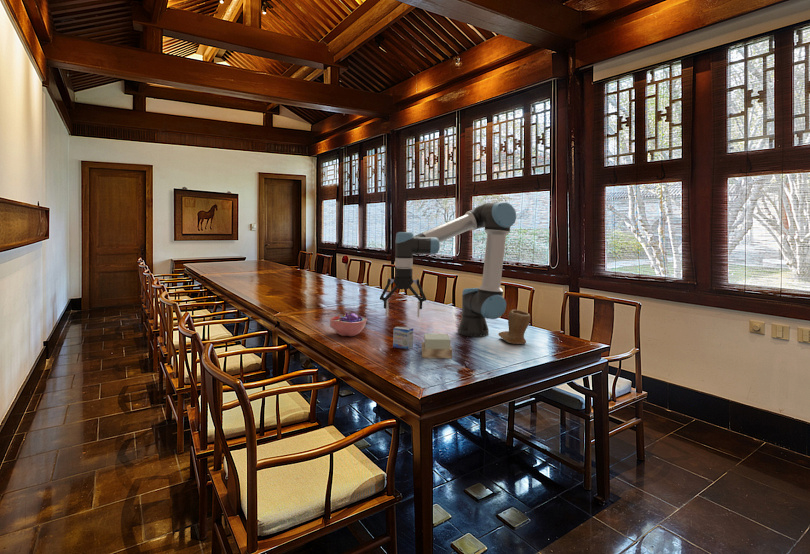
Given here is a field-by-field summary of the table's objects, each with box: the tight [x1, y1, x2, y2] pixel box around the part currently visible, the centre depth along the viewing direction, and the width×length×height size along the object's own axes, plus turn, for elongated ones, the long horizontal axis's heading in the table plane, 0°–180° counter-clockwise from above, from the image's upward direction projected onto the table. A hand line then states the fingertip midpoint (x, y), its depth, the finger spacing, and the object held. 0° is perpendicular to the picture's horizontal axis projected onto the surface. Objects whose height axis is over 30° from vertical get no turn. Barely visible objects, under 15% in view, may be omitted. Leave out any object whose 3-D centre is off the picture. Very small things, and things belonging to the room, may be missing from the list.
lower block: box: [421, 341, 453, 359], centre depth 188 cm, size 12×12×4 cm
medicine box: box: [392, 326, 414, 350], centre depth 198 cm, size 8×4×9 cm, turn 62°
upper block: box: [423, 333, 451, 349], centre depth 188 cm, size 10×10×4 cm
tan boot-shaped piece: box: [498, 309, 531, 345], centre depth 209 cm, size 15×12×15 cm
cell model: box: [329, 312, 368, 337], centre depth 219 cm, size 17×20×11 cm
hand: (402, 316), depth 197 cm, fingers open, 13 cm apart
